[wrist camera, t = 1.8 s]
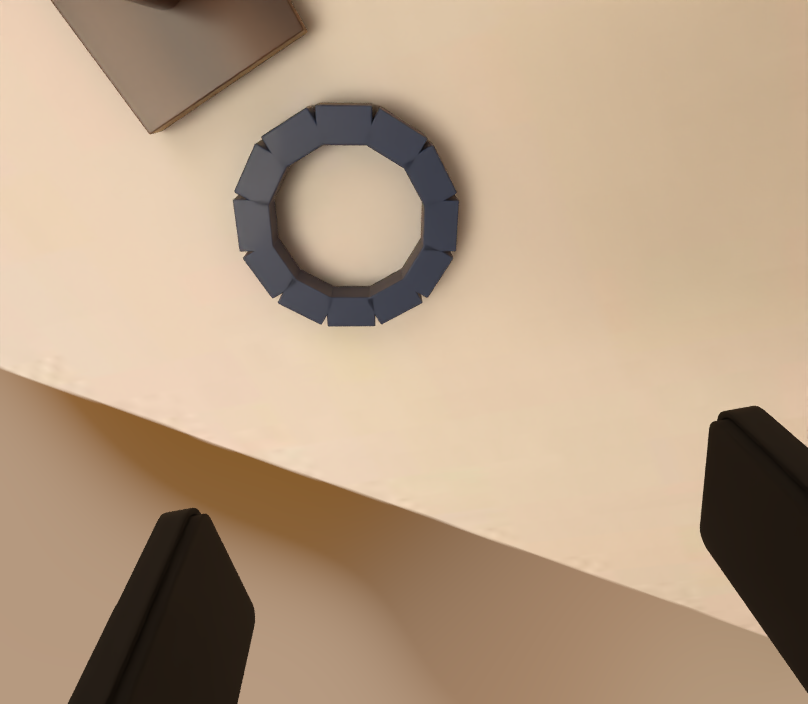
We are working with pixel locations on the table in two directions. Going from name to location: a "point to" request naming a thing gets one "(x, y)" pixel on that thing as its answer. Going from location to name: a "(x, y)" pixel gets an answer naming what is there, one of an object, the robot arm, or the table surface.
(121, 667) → the robot arm
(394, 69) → the table surface
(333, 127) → the navy ring
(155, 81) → the ring stacking peg stand
